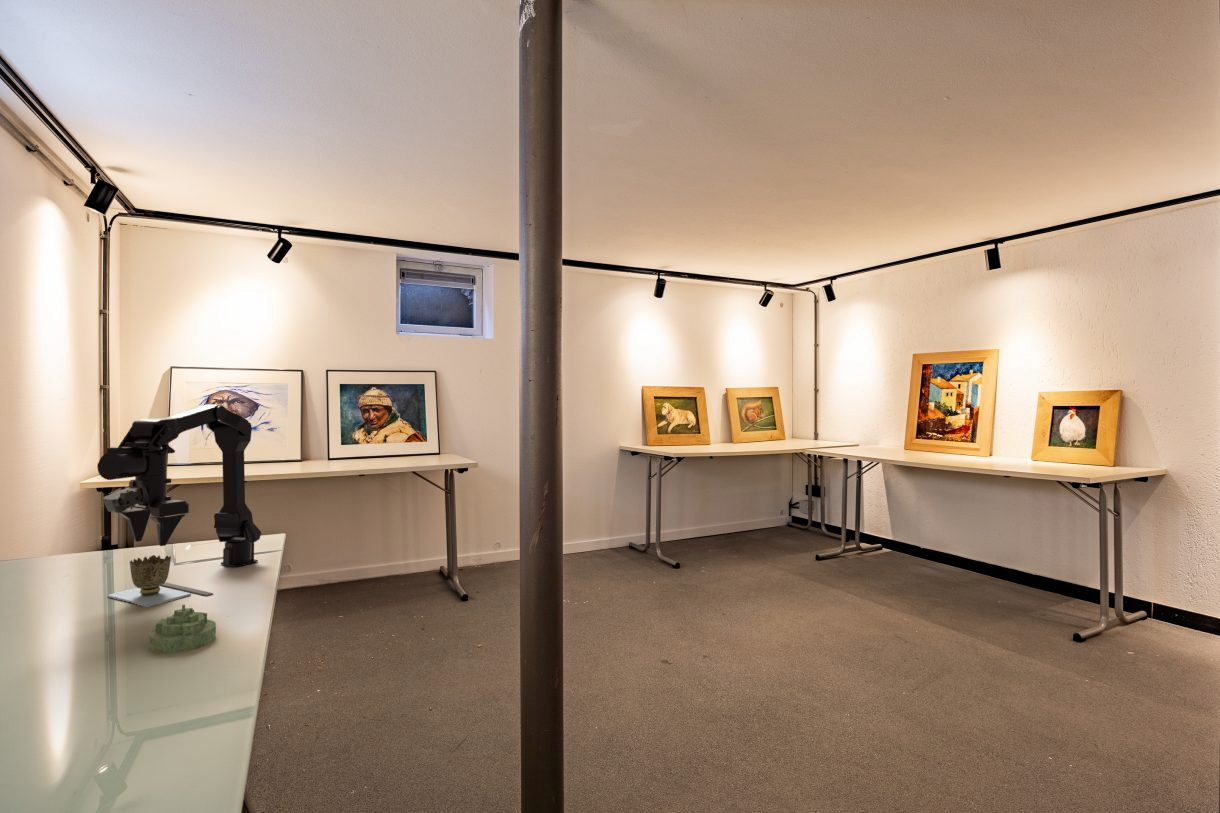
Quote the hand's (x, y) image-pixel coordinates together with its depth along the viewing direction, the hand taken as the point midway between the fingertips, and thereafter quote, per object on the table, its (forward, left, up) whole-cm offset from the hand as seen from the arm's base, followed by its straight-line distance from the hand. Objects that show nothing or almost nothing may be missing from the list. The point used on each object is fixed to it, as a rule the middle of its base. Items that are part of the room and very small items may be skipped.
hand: (150, 543), depth 136 cm
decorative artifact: (+12, +34, -12) cm, 38 cm away
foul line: (-6, 0, -12) cm, 14 cm away
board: (0, 0, -12) cm, 12 cm away
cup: (0, 0, -12) cm, 12 cm away
